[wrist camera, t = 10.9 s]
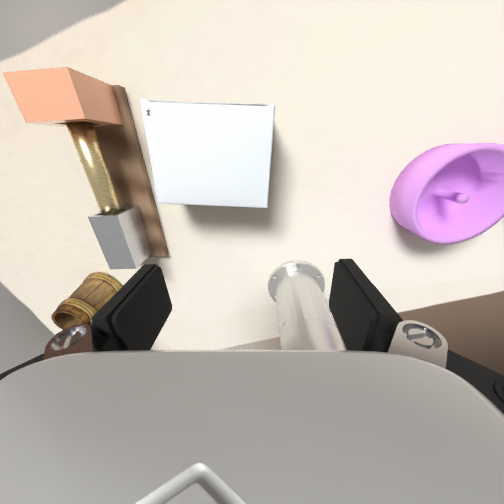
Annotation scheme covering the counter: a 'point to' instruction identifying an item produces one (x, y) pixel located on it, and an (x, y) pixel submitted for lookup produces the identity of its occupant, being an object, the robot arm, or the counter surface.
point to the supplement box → (210, 152)
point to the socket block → (63, 97)
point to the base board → (131, 171)
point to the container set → (451, 192)
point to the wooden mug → (86, 300)
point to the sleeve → (122, 237)
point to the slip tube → (95, 166)
